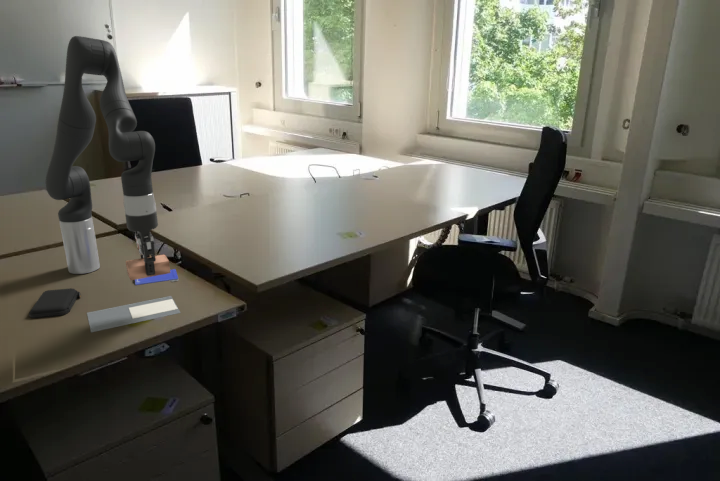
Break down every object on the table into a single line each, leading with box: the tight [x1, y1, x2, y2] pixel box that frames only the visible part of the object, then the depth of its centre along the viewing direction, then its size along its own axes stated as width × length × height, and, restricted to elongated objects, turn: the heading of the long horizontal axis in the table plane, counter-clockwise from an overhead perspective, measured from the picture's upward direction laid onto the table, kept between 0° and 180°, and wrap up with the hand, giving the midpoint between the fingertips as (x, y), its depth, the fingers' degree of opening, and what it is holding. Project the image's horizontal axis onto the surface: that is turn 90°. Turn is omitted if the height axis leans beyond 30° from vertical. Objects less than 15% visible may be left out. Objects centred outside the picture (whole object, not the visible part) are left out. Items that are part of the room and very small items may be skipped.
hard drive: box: [134, 268, 179, 286], centre depth 166 cm, size 2×8×12 cm
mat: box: [86, 295, 182, 333], centre depth 144 cm, size 12×22×1 cm, turn 120°
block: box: [125, 254, 171, 281], centre depth 142 cm, size 10×6×4 cm, turn 120°
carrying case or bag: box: [28, 287, 82, 319], centre depth 147 cm, size 11×3×15 cm
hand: (148, 270), depth 142 cm, fingers closed on block, 5 cm apart
